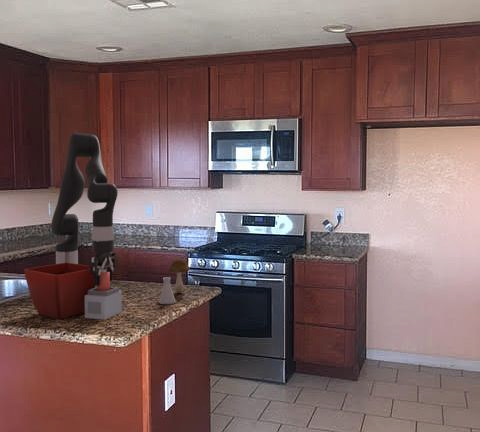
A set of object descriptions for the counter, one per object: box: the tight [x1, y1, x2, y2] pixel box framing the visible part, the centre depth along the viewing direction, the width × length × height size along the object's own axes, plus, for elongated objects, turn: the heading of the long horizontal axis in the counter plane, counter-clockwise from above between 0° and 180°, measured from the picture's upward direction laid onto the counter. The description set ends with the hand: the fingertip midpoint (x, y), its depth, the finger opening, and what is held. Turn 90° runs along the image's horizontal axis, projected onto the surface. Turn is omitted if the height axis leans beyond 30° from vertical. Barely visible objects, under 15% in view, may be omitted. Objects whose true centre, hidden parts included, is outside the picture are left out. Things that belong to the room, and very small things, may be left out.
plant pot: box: [23, 263, 98, 320], centre depth 209 cm, size 19×19×17 cm
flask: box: [157, 276, 176, 305], centre depth 227 cm, size 7×7×10 cm
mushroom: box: [168, 258, 191, 294], centre depth 246 cm, size 9×11×15 cm
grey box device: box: [84, 286, 123, 320], centre depth 207 cm, size 8×12×10 cm, turn 162°
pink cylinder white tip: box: [96, 268, 111, 291], centre depth 207 cm, size 5×5×8 cm
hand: (103, 283), depth 207 cm, fingers open, 8 cm apart
